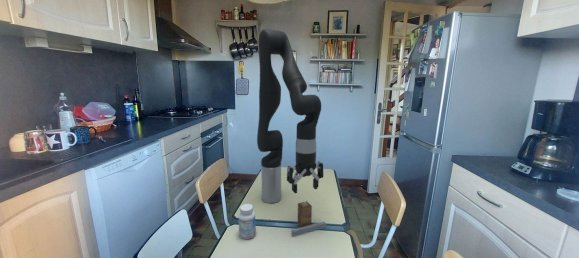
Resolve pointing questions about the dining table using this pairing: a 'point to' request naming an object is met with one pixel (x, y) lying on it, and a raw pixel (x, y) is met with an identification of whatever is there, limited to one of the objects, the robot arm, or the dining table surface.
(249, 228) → the pill bottle
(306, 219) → the walnut block
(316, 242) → the dining table surface
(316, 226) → the rail
